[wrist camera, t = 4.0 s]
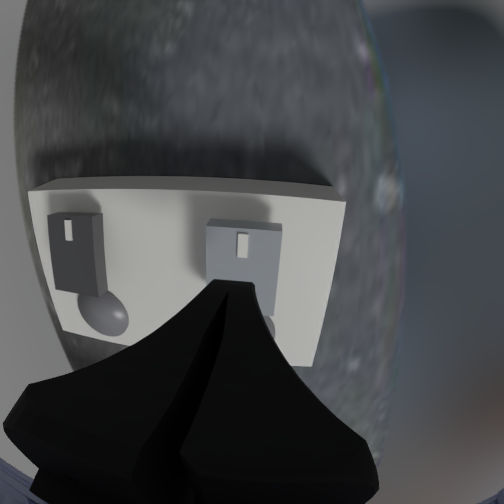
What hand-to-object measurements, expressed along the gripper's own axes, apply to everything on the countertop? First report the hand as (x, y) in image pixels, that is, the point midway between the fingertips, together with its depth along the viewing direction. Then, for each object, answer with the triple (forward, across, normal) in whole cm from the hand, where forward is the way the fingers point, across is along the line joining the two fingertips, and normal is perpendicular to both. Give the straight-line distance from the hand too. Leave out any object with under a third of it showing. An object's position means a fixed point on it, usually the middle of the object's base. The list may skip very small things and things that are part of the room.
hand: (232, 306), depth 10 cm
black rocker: (+3, +8, 0) cm, 9 cm away
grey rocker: (+3, 0, 0) cm, 3 cm away
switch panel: (+8, +4, +2) cm, 9 cm away
